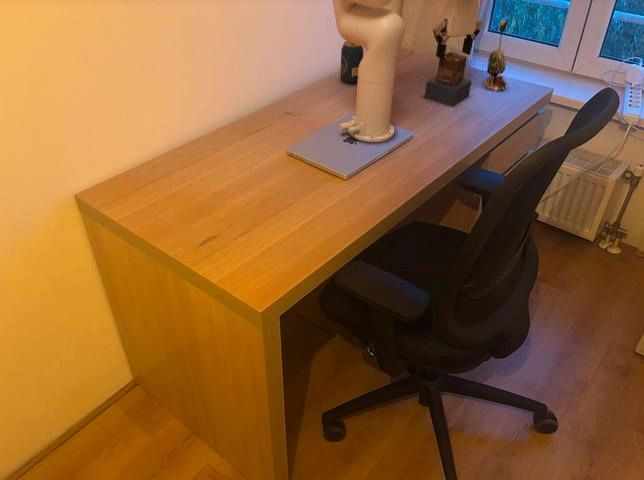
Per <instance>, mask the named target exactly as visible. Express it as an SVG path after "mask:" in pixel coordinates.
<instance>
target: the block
mask: <svg viewBox="0 0 644 480" xmlns="http://www.w3.org/2000/svg"><path fill="white" fill-rule="evenodd" d="M436 80H437V75H436V76H433V78H431V79H429V80H427V81H426V84H425V91H424V99H428V100H431V101H433V102H434V101H436V102H439V103H441V104H444V105H446V106H451V107H455V106H456V105H457V104H460V103H461V102H462V101H464V100H465V99H467V98H469V96H470V91H471V87H472V80H471V79H467V78H464V77H463V80H462V81H461V82H459V83H457V84H455V85H453V86H452V85H449V84H445V83H442V82H439V81H436Z"/></svg>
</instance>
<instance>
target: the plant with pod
mask: <svg viewBox="0 0 644 480" xmlns="http://www.w3.org/2000/svg"><path fill="white" fill-rule="evenodd" d="M507 25H508V18H503V19H502V21H501V22H500V23H499V25H498V30H499V32H500V37H499V38H500V39H499V48H497V49H494V50H492V51H491V50H489V51H491V52H490V54H489V57H488V63H487V69H486V72H487V74H489V76H490V77H488V78H487V79H485V80H484V81H482V83H483V85H484V87H485V88H486V89H488V90H491V91H498V92H499V91H504V90H505V89H506V88H507V87H508V83H507V81H505V80H504V76H503V75H502V74H504V72H505V71H506V65H507V63H506V56H505V54H504V51H503V50H501V45H502V36H503V33H504V32H505V31H506V28H507Z"/></svg>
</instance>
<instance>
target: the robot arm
mask: <svg viewBox="0 0 644 480" xmlns="http://www.w3.org/2000/svg"><path fill="white" fill-rule="evenodd" d="M392 1H393V0H332V7H333V11H334V19H335V24H336V28H337V32H338V34H339V36H340V37H341V39H343V40H344V41H345V42H346V41H348V42H351V43H353V44H356V45H359V46H362V47H363V49H364V48H365V49H366V53H365V55H363V59H362V60H361V62H360V64H359V68H358V83H357V84H356V97H355V98H356V99H355V100H356V101H355V111H354V112H355V114H354V115H351V119H350V120H348V121H346V122H342V123H341V122H340V123H339V124H338V129H339V131H340V132H342V131H347V133H348V134H349V135H350V136H351V137H353V139H356V140H358V141H361V142H366V143H382V142H385V141H388V140H391V139H392V138H393V137H394V136H395V127H394V126H393V124H391V116H392V115H391V114H392V107H393V97H394V88H395V81H396V80H395V79H396V72H397V63H398V56H399V53H400V49H401V45H402V43H403V39H404V35H405V22H404V20H403V18H402V17H401V16H400V15H399V14H398V13H397V12H395V11H393V10H391V9H387V8H385V7H388V6H389V5H390V4H391V3H392ZM479 11H480V0H445V4H444V7H443V10H442V14H441V19H440V23H438V24H437V25H435V26H434V27H433V28H432V32H433V37H434V39H435V41H436V43H437V45H436V46H437V47H436V52H435V56H436V57H437V58H438V59H440V58H441V59H444V57H445V54H446V52H447V51H446V50H447V42H448V40H450V38H456V37H462V36H463V37H464V40H463V44H462V49H461V53H463V54H466V55H468V56H470V55H471V54H472V49H473V43H474V41H475V40H476V39H477V36H478V35H479V34H480V32H481V29H482V28H483V26H484V22H483V21H481V20H480V19H478V18H479Z"/></svg>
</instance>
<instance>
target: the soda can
mask: <svg viewBox="0 0 644 480" xmlns="http://www.w3.org/2000/svg"><path fill="white" fill-rule="evenodd" d="M340 50H341V51H340V54H341V56H340V72H339V73H340V74H339V79H340V80H341V82H342V83H343V84H344V85H348V86H354V85H357V83H358V68H359V64H360V62H361V60H362V59H363V57H364V47H362V46H359V45H356V44H353V43H351V42H348V41H346V40H345V41H344V42H343V45H342V46H341V49H340Z"/></svg>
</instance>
